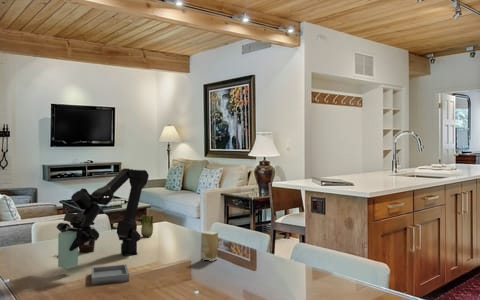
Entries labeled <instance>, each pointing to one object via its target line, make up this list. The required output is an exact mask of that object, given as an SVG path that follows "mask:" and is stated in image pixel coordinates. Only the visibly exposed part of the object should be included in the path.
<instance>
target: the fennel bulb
mask: <svg viewBox="0 0 480 300" xmlns="http://www.w3.org/2000/svg"><path fill="white" fill-rule="evenodd" d="M141 223H142V224H141V227H140V229H141V230H140V233H141V234H140V235H141V236H142V237H143V236H144V237H145V238H150V237H152V235H153V233H154V215H150V214H149V215H146V214H145V215H141ZM149 236H150V237H149Z"/></svg>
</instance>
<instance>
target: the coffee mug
mask: <svg viewBox="0 0 480 300" xmlns="http://www.w3.org/2000/svg"><path fill="white" fill-rule="evenodd" d="M95 243H96V240H92V239H91V237H90V241H88V242H86V243H84V244H82V245H81V246H79V247H78V253H79V254H80V253H81V254H90V253H91V254H92V253H94V251H95Z"/></svg>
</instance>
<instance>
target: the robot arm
mask: <svg viewBox="0 0 480 300" xmlns="http://www.w3.org/2000/svg"><path fill="white" fill-rule="evenodd" d="M128 180H129V185H130V191H129V195H128V200H127V204H126V207H125V208H126V209H125V213H124V216H123V218H122V219H121V220H118V221H117V227H116V228H115V229H116V235H117V237H118V240H119V241H122V243H120V254H122V256H134V255H138V250H137V249H138V243H137V242H139V241H140V240H141V236H142V234H140V233H139V231H138V230H137V226H138V224H137V222H136V216H137V212H138V207H139V204H140V198H141V196H142V195H141V194H142V190H143V189H144V188H145V186H146V185H147V183H148V181H149V173H148V171H147V170H145V169H133V168H125V167H124V168H122V169H121V170H120V171H119V172H118V174H117V175H115V176H114V177H112V179H111V180H110V181H108V183H107V184H105V185H104V186H102V187H99V188H97V189H96V190H94V191H92V193H91V194H90V193H89V191H88V190H87V189H86V188H81V189H80V190H78V191H76V192H74V193H73V194H72V195H71V198H70V200H71V201H72V203H74V205H76V207H77V208H78V209H79V210H80V211H81V210H82V212H77V213H73V212H65V215H64V218H63V219H62V221H63V222H59V223H58V224H57V225H56V226H55V229H57V230H58V231H60V232H59V233H62V232H66V231H74V232H77V237H76V238H75V240H74V242H73V243H72V245H71V247H70V249H69V250H70V251H73V250H74V249H76V248H77V247H78V248H79V246H81V245H82V244H84V243H86V242H88V241H90V237H91V239H92V240H95V241H97V240H98V239H99V237H100V233H99V231H98V230H97V229H96V228H95V227H94V225H95V219H96V218H97V217H98V215H104V213H105V212H104V207H101V206H107V205H109V204H110V203H111V201H112V200H113V198H114V195H115V193H116V192H117V191H118V190H119V189H120V188H121V187H122V186H123V185H124V184H125V183H126V182H127V181H128ZM100 205H101V206H100ZM66 222H67V223H66ZM68 223H69V224H68Z"/></svg>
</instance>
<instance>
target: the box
mask: <svg viewBox="0 0 480 300" xmlns="http://www.w3.org/2000/svg"><path fill="white" fill-rule="evenodd" d="M120 282H121V283H122V282H130V272H129V269H128V265H127V264H125V263H124V264H117V265H114V264H113V265H105V266H103V265H102V266H95V267H91V286H92V285H93V286H95V285H103V284H113V283H120Z"/></svg>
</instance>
